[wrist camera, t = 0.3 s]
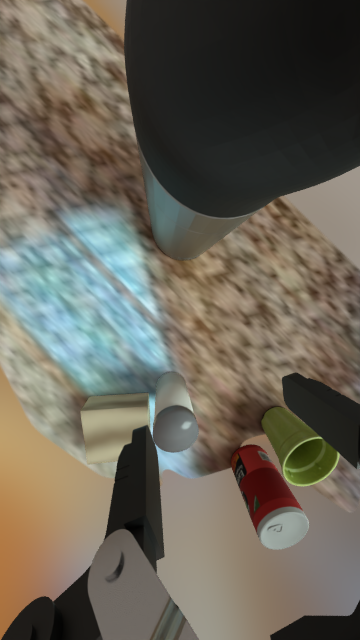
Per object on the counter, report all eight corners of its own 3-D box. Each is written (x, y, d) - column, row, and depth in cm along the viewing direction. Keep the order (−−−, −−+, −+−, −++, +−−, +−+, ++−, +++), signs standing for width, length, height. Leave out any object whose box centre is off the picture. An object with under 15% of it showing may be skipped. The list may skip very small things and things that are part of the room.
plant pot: (302, 424, 36) (346, 467, 27) (263, 446, 36) (294, 496, 27) (287, 390, 34) (330, 426, 25) (245, 414, 34) (274, 457, 25)
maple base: (89, 396, 29) (80, 411, 26) (148, 392, 30) (147, 406, 27) (95, 444, 31) (87, 464, 28) (150, 439, 32) (149, 457, 29)
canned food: (227, 448, 35) (257, 521, 24) (264, 438, 35) (309, 505, 25) (231, 476, 37) (261, 556, 26) (267, 467, 37) (310, 541, 26)
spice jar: (154, 372, 30) (152, 415, 20) (186, 370, 30) (199, 411, 21) (155, 400, 31) (153, 454, 21) (186, 398, 31) (198, 450, 22)
